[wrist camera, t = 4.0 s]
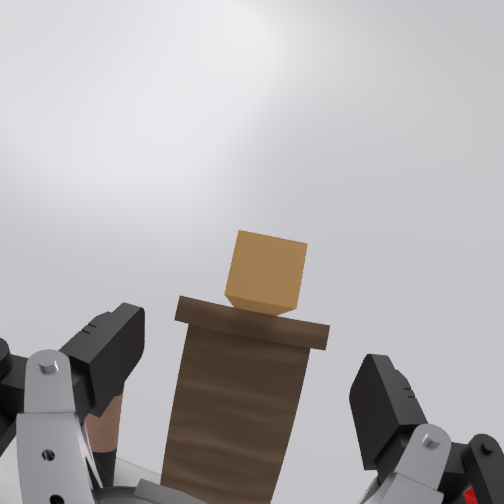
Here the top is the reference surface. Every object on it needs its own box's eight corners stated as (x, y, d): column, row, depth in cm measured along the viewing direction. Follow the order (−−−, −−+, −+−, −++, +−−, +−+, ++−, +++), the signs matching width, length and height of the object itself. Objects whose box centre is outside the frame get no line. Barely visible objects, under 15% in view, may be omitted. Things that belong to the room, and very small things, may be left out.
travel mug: (119, 497, 28) (132, 383, 33) (70, 493, 24) (74, 371, 28) (108, 471, 34) (120, 367, 39) (64, 465, 30) (71, 356, 35)
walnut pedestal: (249, 587, 15) (330, 325, 22) (140, 564, 15) (179, 295, 23) (248, 519, 30) (297, 325, 38) (170, 503, 31) (207, 307, 38)
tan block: (296, 308, 13) (307, 243, 14) (224, 294, 13) (238, 229, 14) (264, 319, 38) (268, 297, 39) (240, 314, 38) (244, 292, 39)
